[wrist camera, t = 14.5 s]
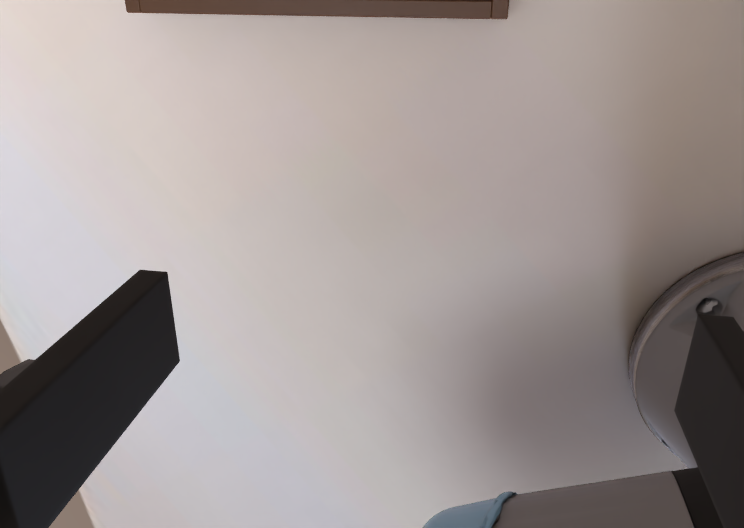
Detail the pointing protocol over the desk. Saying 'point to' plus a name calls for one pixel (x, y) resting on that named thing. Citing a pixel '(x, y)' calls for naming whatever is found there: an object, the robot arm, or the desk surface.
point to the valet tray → (330, 8)
